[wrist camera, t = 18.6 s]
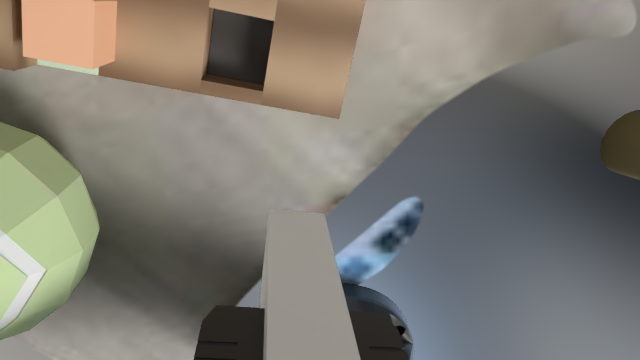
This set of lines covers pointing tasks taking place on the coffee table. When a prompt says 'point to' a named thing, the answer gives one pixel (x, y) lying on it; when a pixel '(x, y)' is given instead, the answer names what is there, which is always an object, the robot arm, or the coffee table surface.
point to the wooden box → (224, 48)
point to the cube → (70, 31)
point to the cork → (623, 145)
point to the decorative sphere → (40, 229)
